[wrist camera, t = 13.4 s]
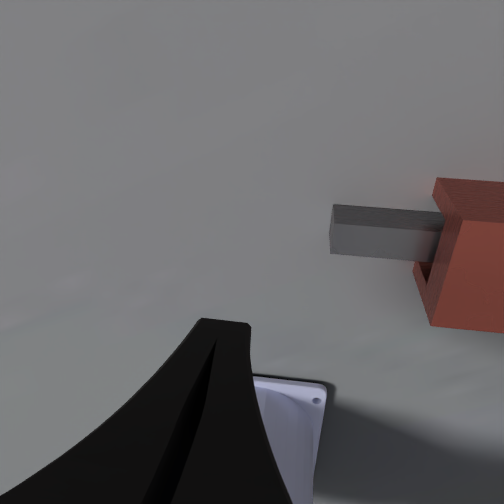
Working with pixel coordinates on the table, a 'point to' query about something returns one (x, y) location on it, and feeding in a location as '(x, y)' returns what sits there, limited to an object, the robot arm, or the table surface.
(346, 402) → the table surface
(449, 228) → the red notched block
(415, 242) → the coupler
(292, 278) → the table surface
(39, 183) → the table surface
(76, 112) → the table surface
